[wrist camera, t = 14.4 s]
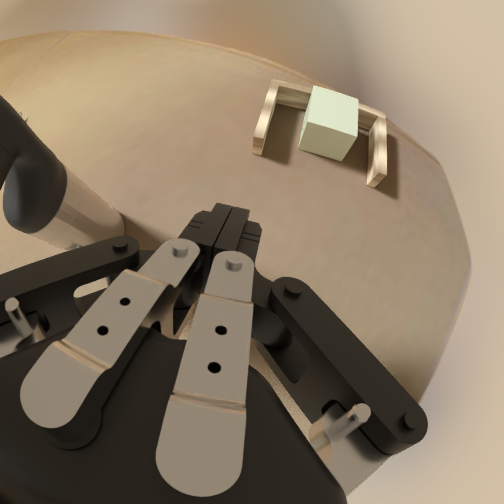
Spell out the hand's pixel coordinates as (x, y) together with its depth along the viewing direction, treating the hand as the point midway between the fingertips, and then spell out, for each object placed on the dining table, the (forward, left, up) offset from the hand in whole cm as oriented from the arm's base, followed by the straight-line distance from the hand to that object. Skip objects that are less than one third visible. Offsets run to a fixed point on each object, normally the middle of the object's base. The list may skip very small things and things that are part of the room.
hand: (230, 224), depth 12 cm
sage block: (+29, -8, -28) cm, 41 cm away
